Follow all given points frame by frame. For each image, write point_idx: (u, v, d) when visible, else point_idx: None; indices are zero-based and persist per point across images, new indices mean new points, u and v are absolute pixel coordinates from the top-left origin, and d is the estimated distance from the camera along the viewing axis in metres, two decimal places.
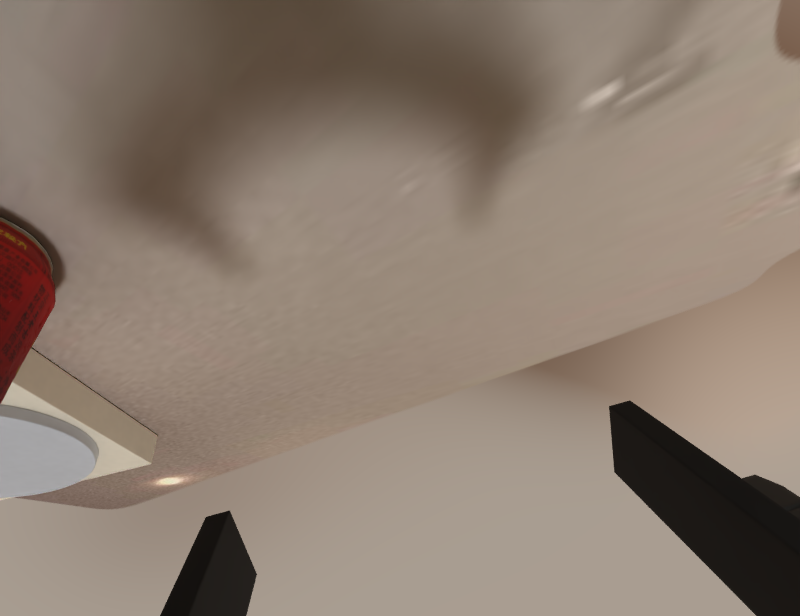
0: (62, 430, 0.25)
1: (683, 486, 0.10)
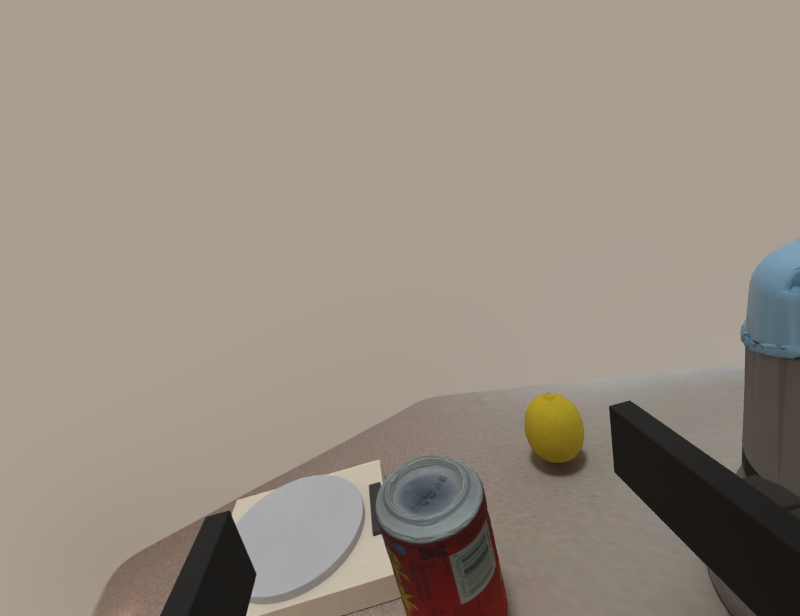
0: (296, 590, 0.30)
1: (683, 486, 0.10)
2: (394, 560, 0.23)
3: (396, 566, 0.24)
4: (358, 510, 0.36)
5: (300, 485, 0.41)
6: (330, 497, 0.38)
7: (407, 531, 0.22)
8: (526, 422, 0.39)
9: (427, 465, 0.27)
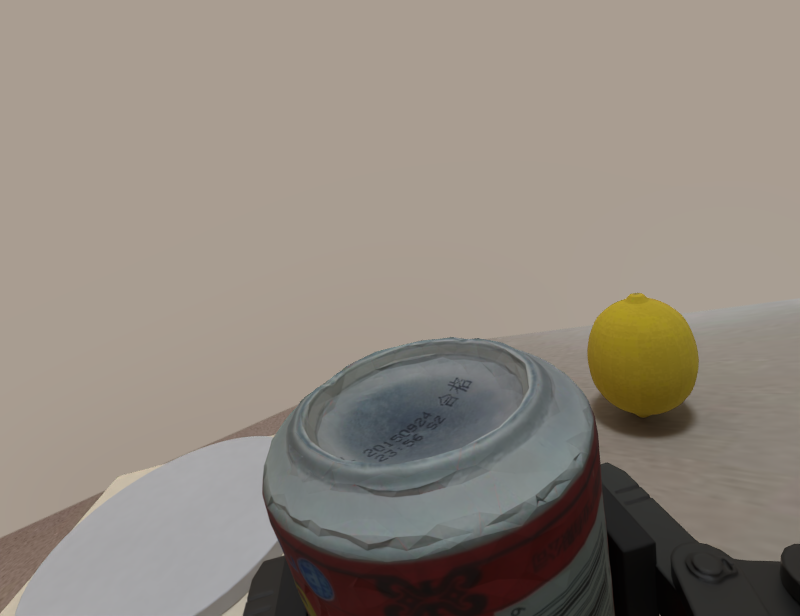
0: None
1: None
2: (309, 612, 0.07)
3: None
4: None
5: (215, 452, 0.25)
6: (256, 469, 0.22)
7: (340, 516, 0.06)
8: (594, 346, 0.23)
9: (421, 357, 0.11)
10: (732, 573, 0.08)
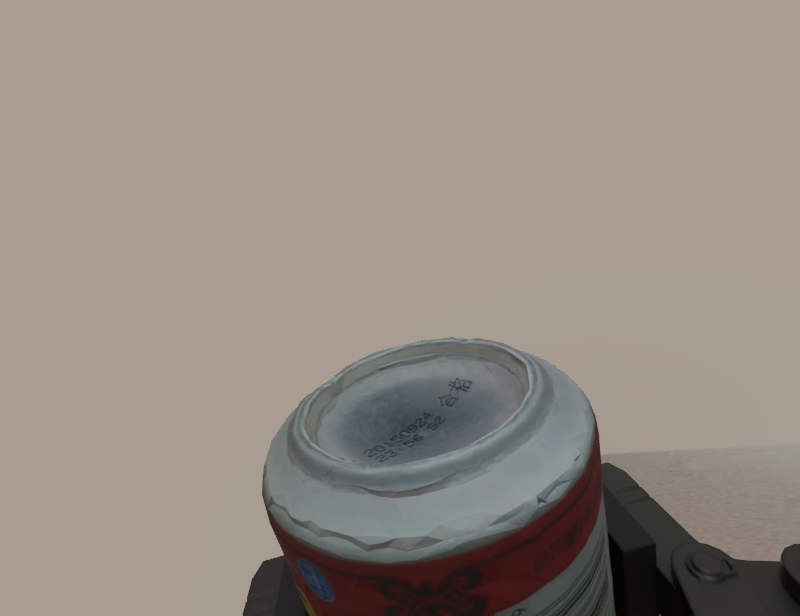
0: None
1: None
2: (309, 612, 0.07)
3: None
4: None
5: None
6: None
7: (340, 517, 0.06)
8: None
9: (422, 357, 0.11)
10: (732, 573, 0.08)
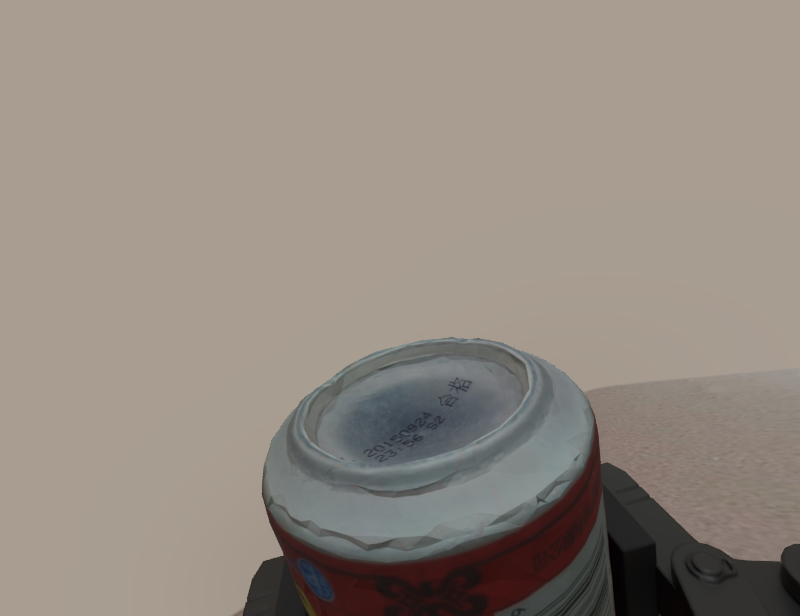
0: None
1: None
2: (308, 612, 0.07)
3: None
4: None
5: None
6: None
7: (339, 516, 0.06)
8: None
9: (421, 357, 0.11)
10: (732, 573, 0.08)
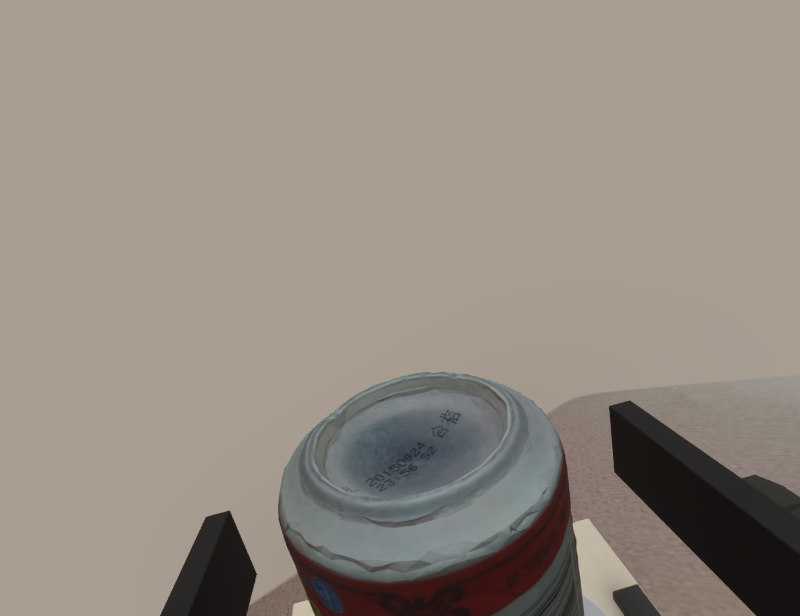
0: None
1: (683, 486, 0.10)
2: None
3: None
4: None
5: None
6: None
7: (348, 543, 0.07)
8: None
9: (416, 390, 0.12)
10: None
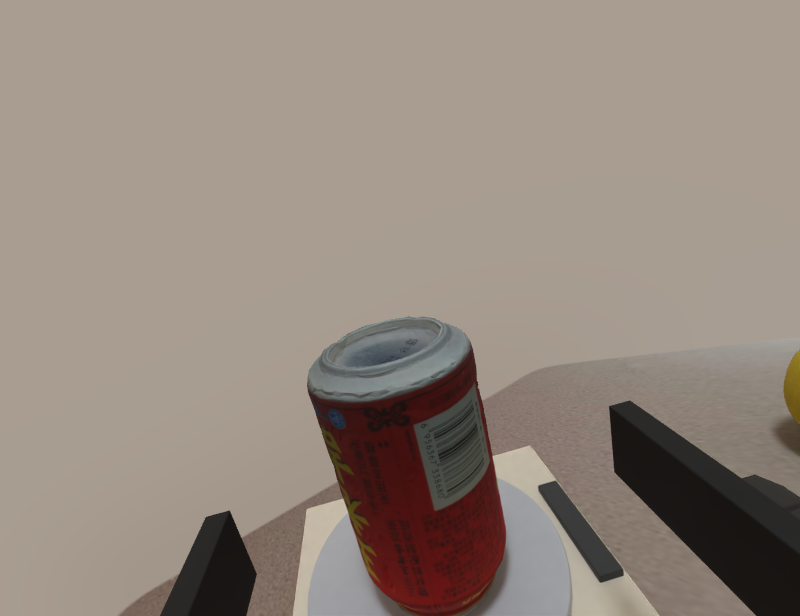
0: None
1: (683, 486, 0.10)
2: (332, 446, 0.15)
3: (335, 457, 0.15)
4: (548, 531, 0.20)
5: None
6: None
7: (348, 387, 0.14)
8: None
9: (391, 328, 0.18)
10: None
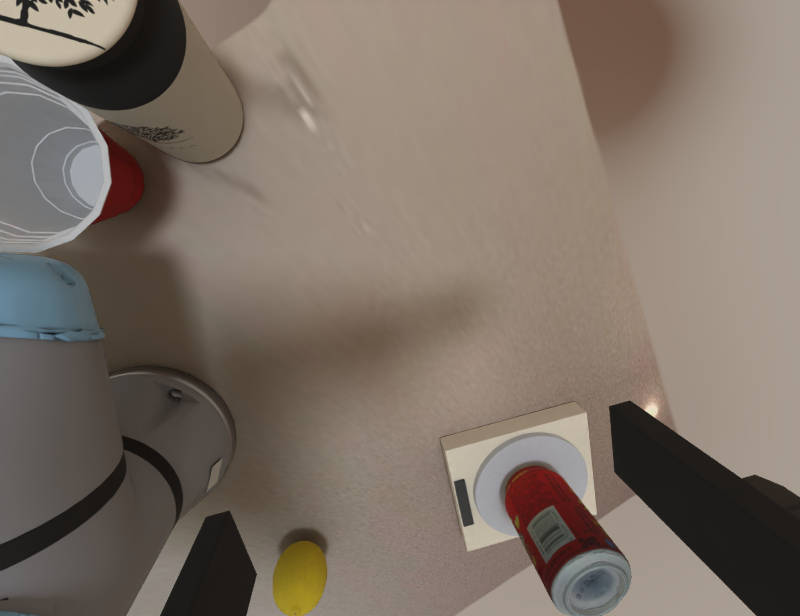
0: (516, 440, 0.41)
1: (683, 486, 0.10)
2: None
3: (602, 528, 0.34)
4: (479, 499, 0.42)
5: None
6: (506, 512, 0.43)
7: (610, 557, 0.31)
8: (324, 582, 0.40)
9: (591, 609, 0.32)
10: None
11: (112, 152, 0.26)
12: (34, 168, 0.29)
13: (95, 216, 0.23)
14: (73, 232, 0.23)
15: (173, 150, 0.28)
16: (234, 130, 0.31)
